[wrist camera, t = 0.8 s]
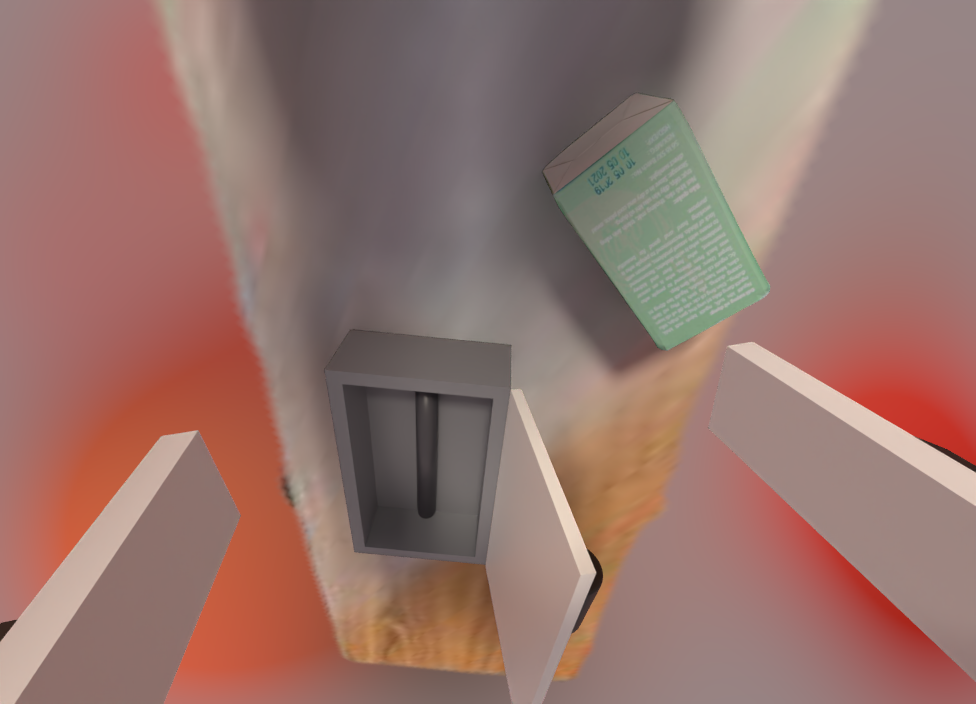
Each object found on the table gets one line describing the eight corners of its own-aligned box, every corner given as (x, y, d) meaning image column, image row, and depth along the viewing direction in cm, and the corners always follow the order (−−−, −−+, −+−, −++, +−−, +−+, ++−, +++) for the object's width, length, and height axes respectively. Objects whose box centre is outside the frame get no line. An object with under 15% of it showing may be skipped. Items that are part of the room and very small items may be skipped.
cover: (580, 575, 20) (596, 572, 20) (510, 389, 31) (521, 388, 31) (518, 738, 33) (528, 736, 33) (485, 566, 44) (492, 565, 44)
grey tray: (350, 329, 36) (324, 369, 31) (511, 345, 36) (510, 387, 31) (370, 504, 49) (354, 552, 44) (488, 515, 49) (485, 564, 44)
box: (637, 309, 34) (666, 360, 28) (538, 170, 29) (546, 195, 22) (726, 254, 31) (781, 297, 25) (635, 89, 26) (675, 91, 20)
